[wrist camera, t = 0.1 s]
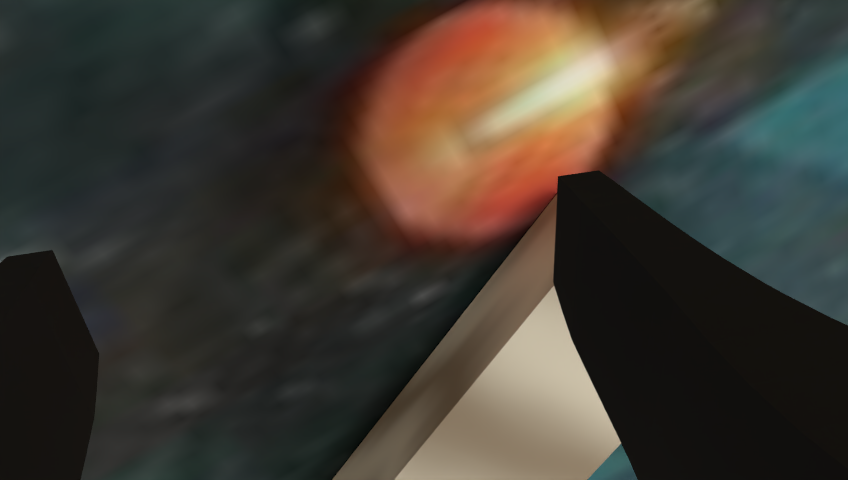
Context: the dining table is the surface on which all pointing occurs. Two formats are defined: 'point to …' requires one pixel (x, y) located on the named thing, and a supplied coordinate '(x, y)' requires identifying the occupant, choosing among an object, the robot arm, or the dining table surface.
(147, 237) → the dining table surface
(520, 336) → the dock
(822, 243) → the dining table surface
